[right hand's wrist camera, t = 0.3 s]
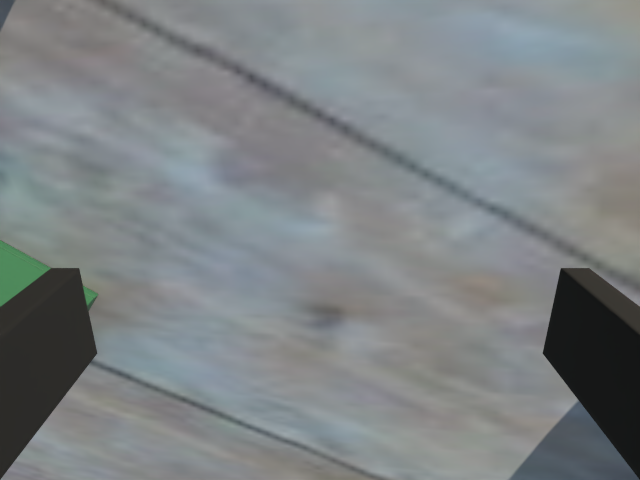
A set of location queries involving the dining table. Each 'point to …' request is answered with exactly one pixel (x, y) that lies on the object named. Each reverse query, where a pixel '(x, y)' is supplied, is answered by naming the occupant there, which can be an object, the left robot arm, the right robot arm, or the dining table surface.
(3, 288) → the cabinet
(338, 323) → the dining table surface
